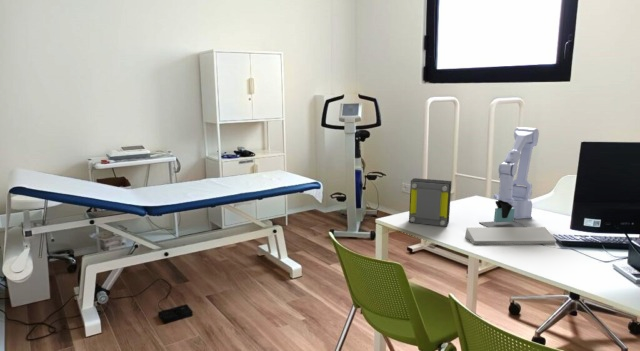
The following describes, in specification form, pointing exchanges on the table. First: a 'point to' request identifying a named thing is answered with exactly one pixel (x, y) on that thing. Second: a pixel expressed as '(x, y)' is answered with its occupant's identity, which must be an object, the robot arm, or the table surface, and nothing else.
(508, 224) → the mat
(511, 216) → the card box
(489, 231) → the bevelled gray strip
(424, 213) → the electrical component
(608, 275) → the table surface
